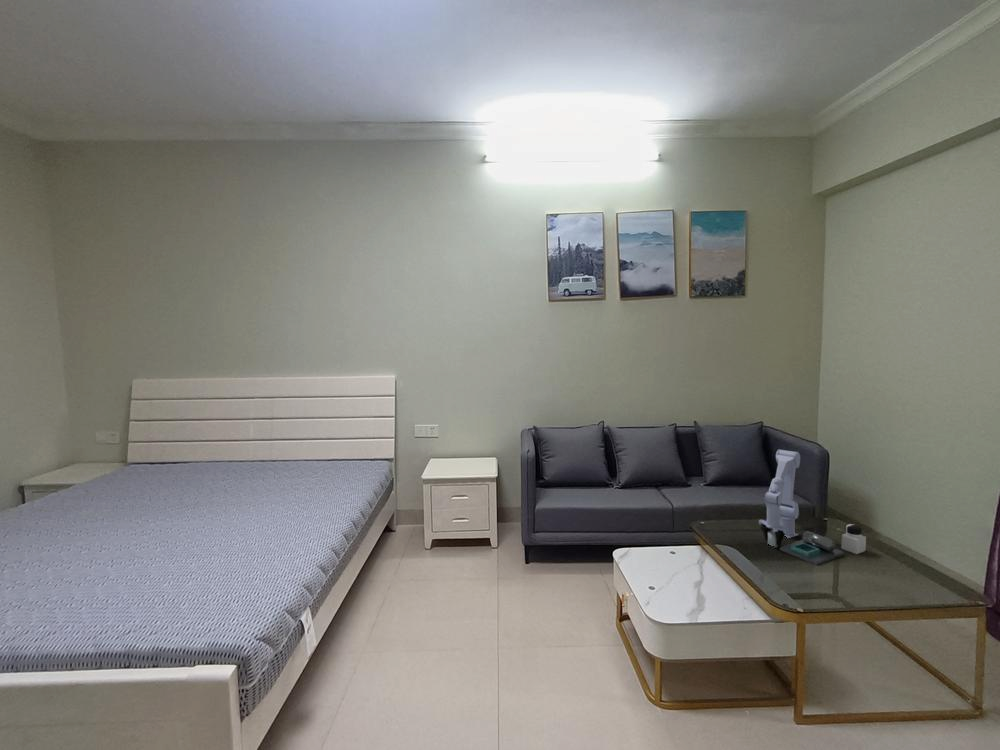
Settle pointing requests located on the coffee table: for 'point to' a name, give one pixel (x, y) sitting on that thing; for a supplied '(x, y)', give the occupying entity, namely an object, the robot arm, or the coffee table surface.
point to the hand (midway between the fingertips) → (773, 542)
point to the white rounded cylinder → (772, 538)
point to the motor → (813, 548)
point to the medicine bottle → (854, 539)
